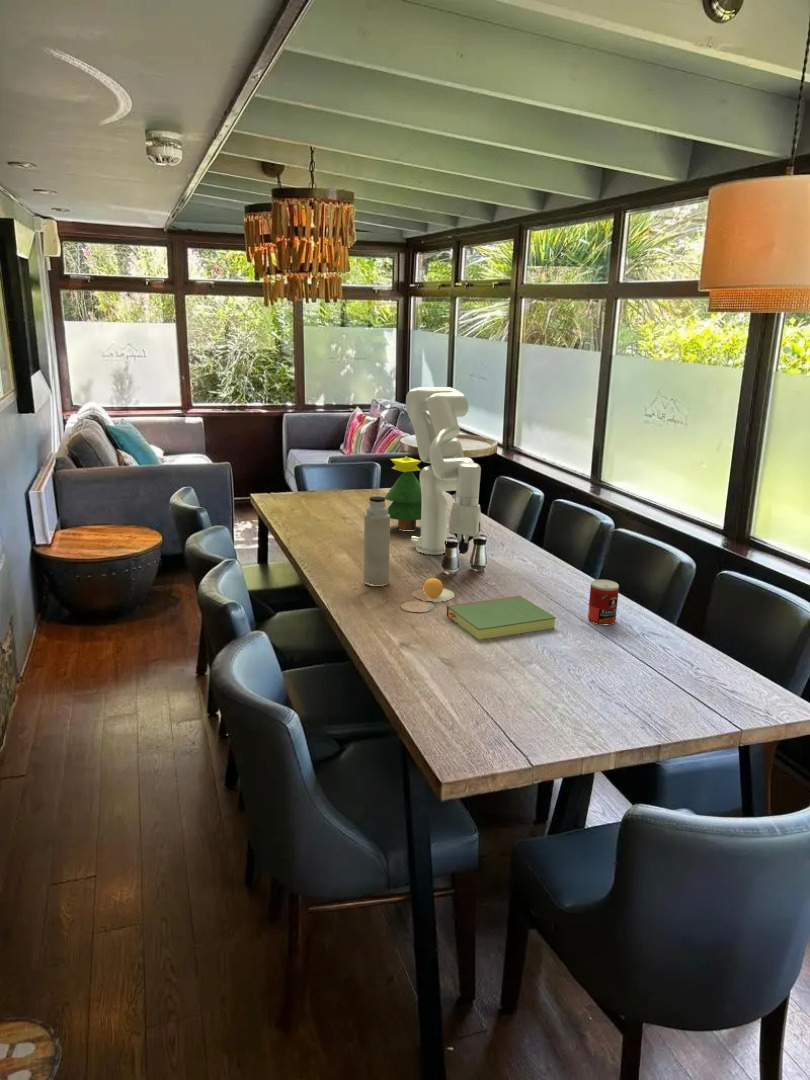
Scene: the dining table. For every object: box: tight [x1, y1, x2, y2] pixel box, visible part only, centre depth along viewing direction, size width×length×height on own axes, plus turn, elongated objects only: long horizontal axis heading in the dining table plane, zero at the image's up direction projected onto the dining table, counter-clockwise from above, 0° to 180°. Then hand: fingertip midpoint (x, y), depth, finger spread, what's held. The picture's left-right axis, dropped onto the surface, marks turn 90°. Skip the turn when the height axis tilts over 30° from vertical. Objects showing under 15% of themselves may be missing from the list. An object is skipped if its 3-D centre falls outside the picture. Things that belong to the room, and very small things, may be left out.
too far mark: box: [426, 602, 435, 612], centre depth 228 cm, size 10×10×1 cm
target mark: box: [430, 588, 455, 603], centre depth 238 cm, size 13×13×1 cm
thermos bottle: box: [363, 495, 391, 585], centre depth 244 cm, size 8×8×28 cm
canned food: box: [587, 579, 620, 625], centre depth 219 cm, size 8×8×11 cm
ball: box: [422, 577, 444, 598], centre depth 235 cm, size 6×6×6 cm
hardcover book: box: [446, 595, 557, 640], centre depth 217 cm, size 25×19×4 cm
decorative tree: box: [384, 455, 422, 531], centre depth 309 cm, size 19×19×30 cm
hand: (463, 552), depth 262 cm, fingers closed
